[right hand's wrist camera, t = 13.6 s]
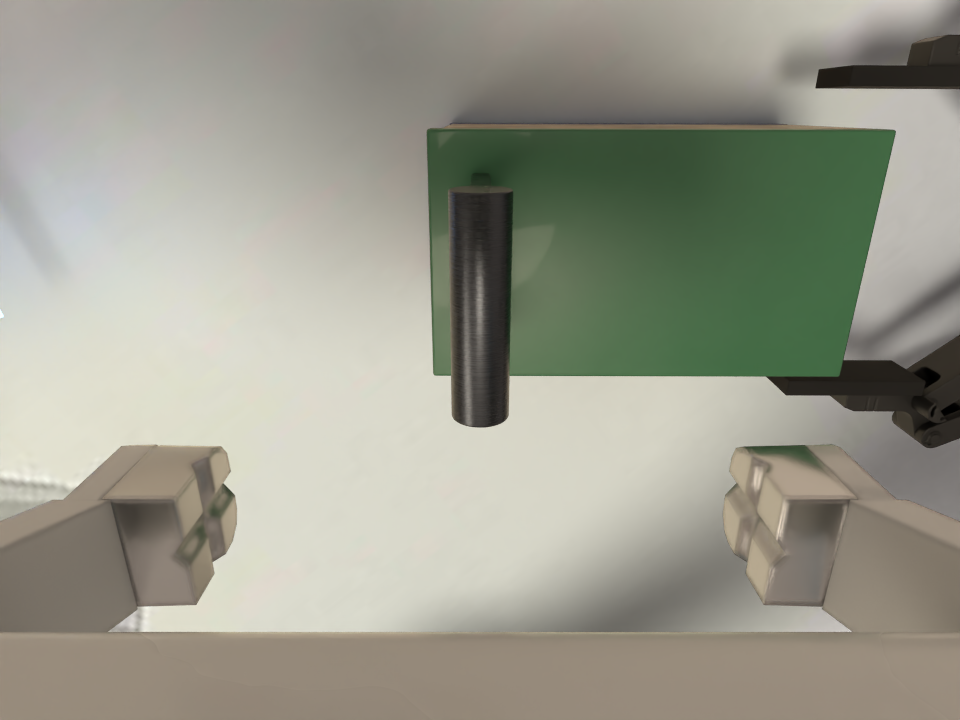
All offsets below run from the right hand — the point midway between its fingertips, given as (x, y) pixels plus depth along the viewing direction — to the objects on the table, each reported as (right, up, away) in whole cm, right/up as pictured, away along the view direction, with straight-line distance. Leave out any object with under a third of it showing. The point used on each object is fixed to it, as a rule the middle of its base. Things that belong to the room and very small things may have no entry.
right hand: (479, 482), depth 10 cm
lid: (+7, +6, +16) cm, 19 cm away
